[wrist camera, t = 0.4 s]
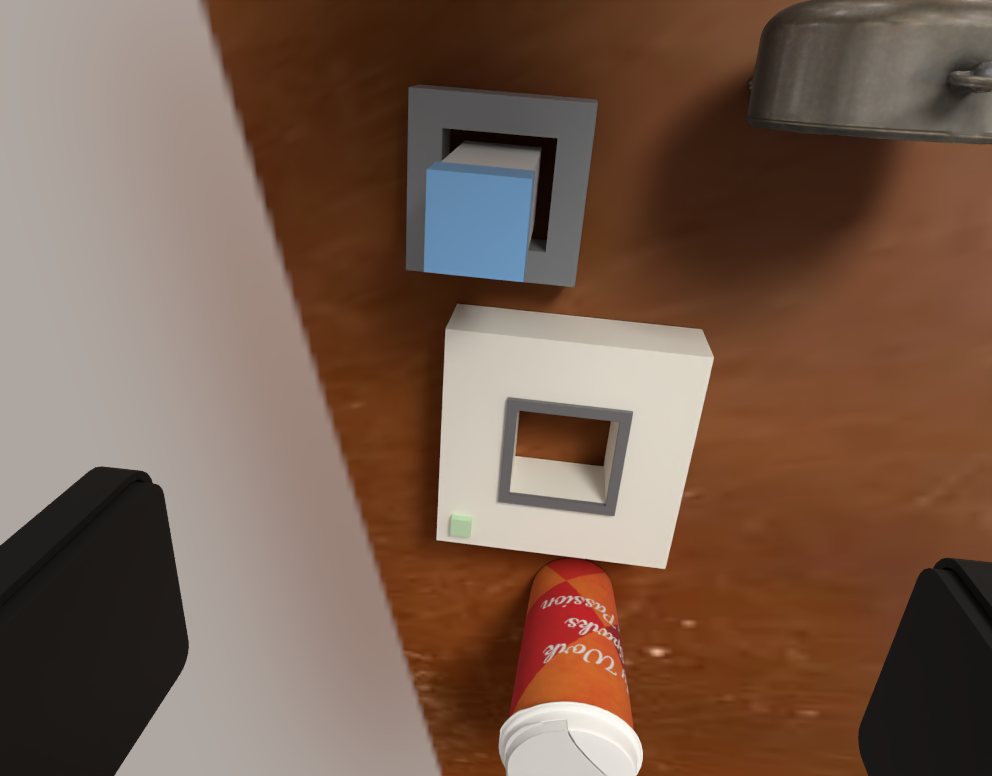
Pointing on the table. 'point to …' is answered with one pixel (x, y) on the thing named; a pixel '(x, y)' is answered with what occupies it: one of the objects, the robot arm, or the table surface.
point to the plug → (481, 210)
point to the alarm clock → (877, 70)
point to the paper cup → (570, 681)
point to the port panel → (577, 393)
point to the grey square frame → (506, 114)
